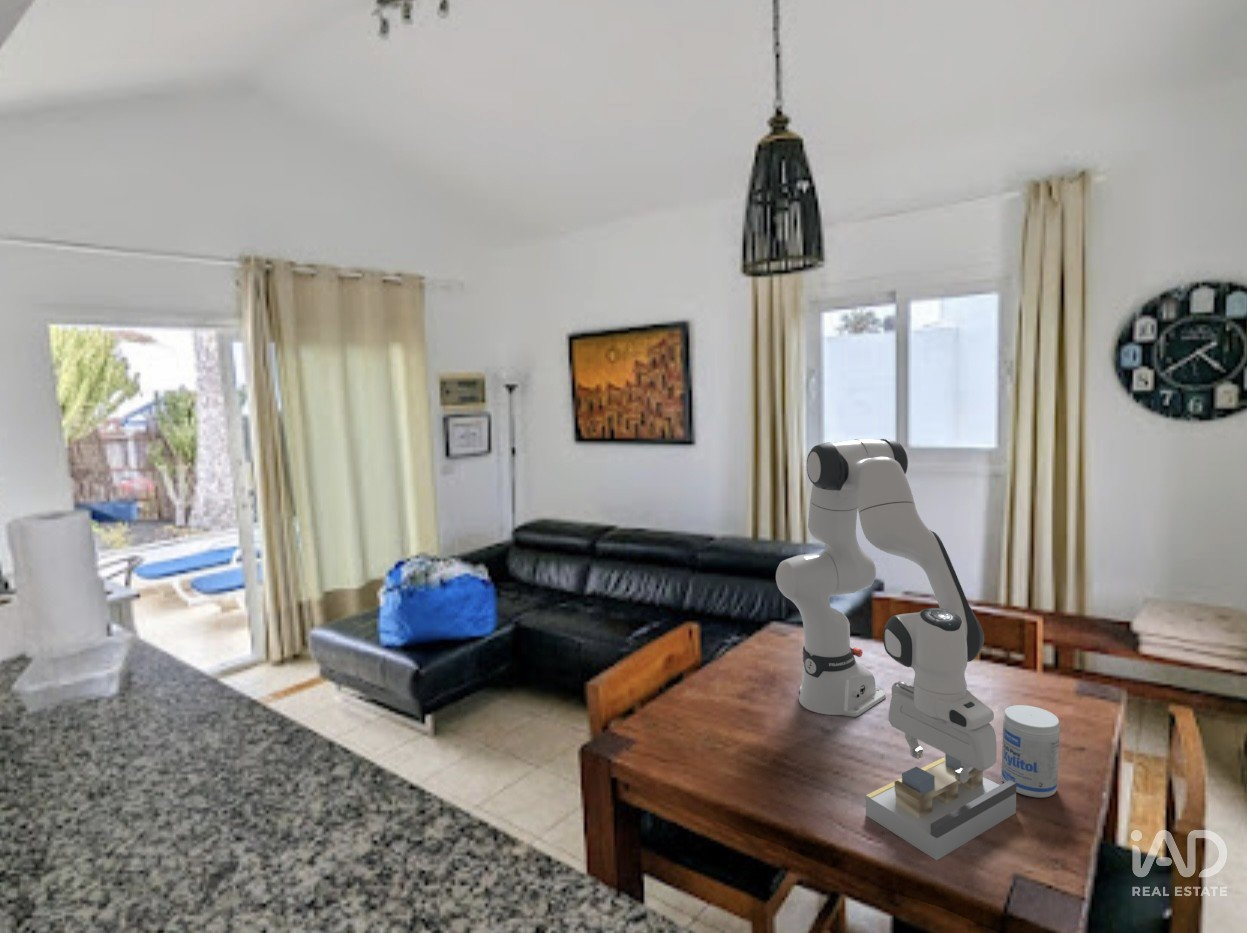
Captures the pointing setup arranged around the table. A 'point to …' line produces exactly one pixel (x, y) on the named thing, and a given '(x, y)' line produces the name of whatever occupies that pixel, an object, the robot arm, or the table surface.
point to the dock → (944, 815)
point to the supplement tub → (1030, 750)
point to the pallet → (935, 790)
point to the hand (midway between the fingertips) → (938, 768)
